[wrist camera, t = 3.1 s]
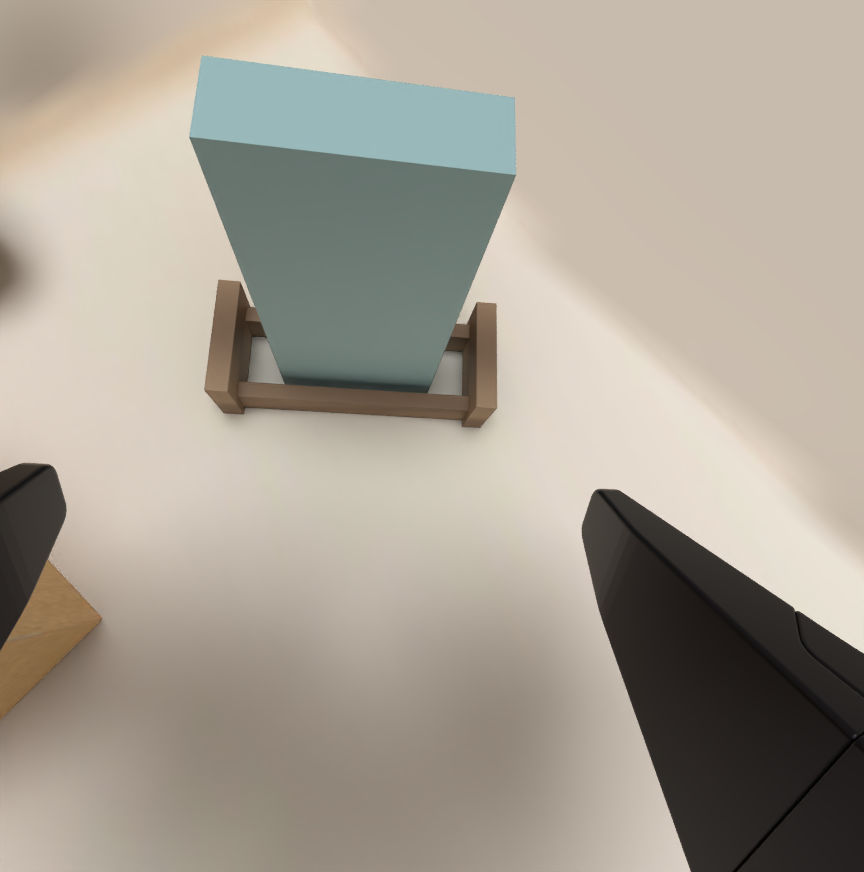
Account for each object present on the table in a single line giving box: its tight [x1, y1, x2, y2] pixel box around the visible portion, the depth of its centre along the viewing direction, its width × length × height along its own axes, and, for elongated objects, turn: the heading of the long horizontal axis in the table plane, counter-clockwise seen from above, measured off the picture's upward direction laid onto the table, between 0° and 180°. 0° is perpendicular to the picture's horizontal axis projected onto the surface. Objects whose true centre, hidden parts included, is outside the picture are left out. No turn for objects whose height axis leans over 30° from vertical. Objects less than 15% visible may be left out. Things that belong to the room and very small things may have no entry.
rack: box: [204, 280, 497, 428], centre depth 22 cm, size 4×11×3 cm, turn 89°
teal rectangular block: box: [189, 56, 516, 394], centre depth 17 cm, size 2×6×14 cm, turn 89°
